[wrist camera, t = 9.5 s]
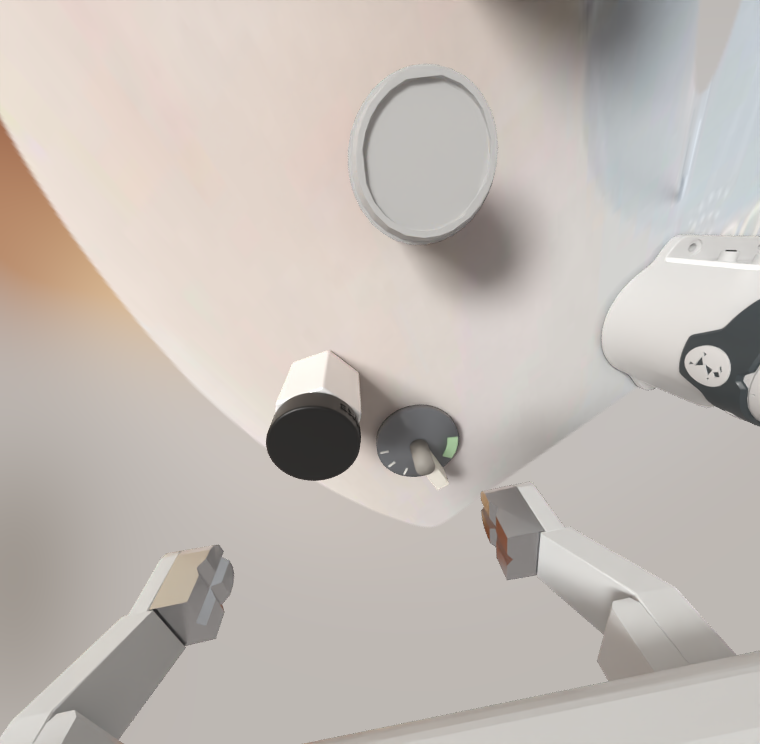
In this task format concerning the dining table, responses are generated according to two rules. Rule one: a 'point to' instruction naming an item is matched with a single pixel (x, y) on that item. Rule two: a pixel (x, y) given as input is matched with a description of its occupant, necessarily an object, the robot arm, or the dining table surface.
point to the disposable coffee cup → (422, 154)
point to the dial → (416, 437)
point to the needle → (428, 464)
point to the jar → (316, 419)
